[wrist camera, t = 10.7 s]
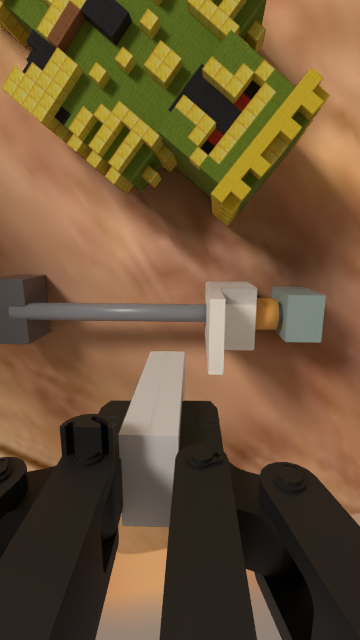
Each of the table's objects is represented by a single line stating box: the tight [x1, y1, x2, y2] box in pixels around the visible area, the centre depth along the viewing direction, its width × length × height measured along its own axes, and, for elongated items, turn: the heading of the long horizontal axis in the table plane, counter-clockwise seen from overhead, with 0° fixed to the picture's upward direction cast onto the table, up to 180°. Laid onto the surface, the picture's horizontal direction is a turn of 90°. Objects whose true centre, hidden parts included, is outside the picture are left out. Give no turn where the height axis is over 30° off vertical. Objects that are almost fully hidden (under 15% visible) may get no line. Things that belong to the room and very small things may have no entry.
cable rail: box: [0, 275, 326, 344], centre depth 31 cm, size 29×6×6 cm, turn 90°
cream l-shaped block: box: [205, 281, 257, 375], centre depth 27 cm, size 4×5×11 cm
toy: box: [0, 0, 330, 226], centre depth 26 cm, size 17×10×30 cm
